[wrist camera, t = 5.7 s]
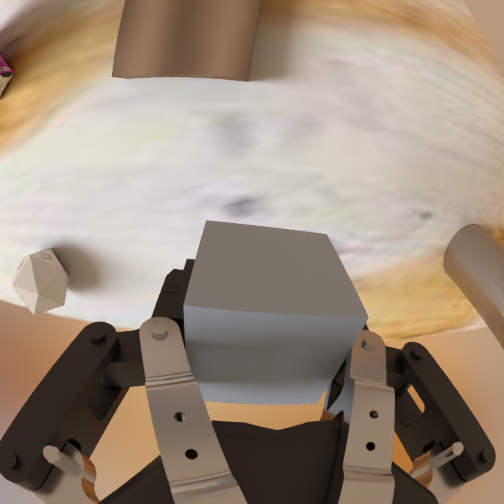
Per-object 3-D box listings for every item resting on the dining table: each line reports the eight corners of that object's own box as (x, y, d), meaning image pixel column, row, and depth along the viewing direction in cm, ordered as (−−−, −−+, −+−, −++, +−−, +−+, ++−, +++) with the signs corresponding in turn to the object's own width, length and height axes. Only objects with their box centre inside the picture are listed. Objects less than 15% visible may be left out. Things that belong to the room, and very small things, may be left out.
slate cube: (326, 234, 11) (368, 317, 7) (299, 319, 14) (316, 403, 10) (206, 220, 11) (183, 304, 7) (202, 311, 13) (189, 399, 9)
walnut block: (264, -19, 16) (267, -34, 13) (247, 81, 22) (248, 78, 19) (147, -19, 15) (134, -32, 12) (128, 78, 21) (111, 77, 18)
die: (77, 244, 31) (14, 249, 22) (85, 308, 31) (25, 322, 23) (56, 249, 35) (3, 254, 26) (63, 304, 35) (12, 315, 26)
